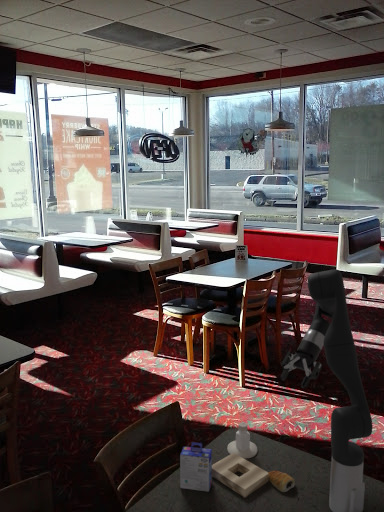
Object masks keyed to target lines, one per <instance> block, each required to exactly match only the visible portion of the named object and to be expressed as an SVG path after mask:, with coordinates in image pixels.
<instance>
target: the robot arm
mask: <svg viewBox="0 0 384 512" xmlns="http://www.w3.org/2000/svg"><path fill="white" fill-rule="evenodd" d="M307 289H308V293H309V295H310V297H311V300H313V301H314V302H316V305H315V311H314V316H313V318H312V322H311V324H310V325H309V327H308V329H307V331H306V332H305V333H304V336H303V337H302V339H301V341H300V344H299V345H298V347H297V350H296V353H295V354H293V353H291V352H290V351H288V352H287V353H286V355H284V358H283V360H282V362H281V363H280V366H281V367H282V369H283V370H282V371H281V374H280V379H281V380H282V381H286V379H287V378H288V375H289V373H290V372H291V371H292V370H295V369H298V370H302V371H304V372H305V376H304V377H303V379H302V381H301V384H300V387H301V388H302V389H305V388H307V387H308V385H309V383H310V381H311V380H314V381H315V380H317V378H318V377H319V374H320V372H321V369H322V366H323V365H322V364H321V362H320V361H316V360H317V359H318V357H319V354H320V352H321V351H322V349H323V350H324V355H325V360H326V364H327V366H328V368H329V369H330V370H331V372H332V374H334V375H335V376H336V378H337V379H338V381H340V382H341V384H342V385H343V387H344V388H345V390H346V391H347V394H348V397H349V400H350V406H349V405H347V406H340V407H335V408H334V409H332V412H331V416H330V445H331V446H330V447H331V462H330V463H331V465H330V478H329V481H330V482H329V497H328V499H329V500H328V506H329V510H330V511H331V512H363V511H364V503H365V486H366V485H365V484H366V483H365V482H364V481H363V476H364V459H365V453H364V450H363V448H362V447H361V446H360V445H359V444H357V443H355V442H352V441H350V440H355V439H365V438H369V437H371V435H372V433H373V419H372V415H371V412H370V407H369V404H368V400H367V397H366V392H365V390H364V389H365V388H364V386H363V382H362V381H363V380H362V377H361V373H360V372H361V371H360V368H359V362H358V355H357V350H356V345H355V340H354V337H353V336H354V335H353V331H352V326H351V323H350V318H349V310H348V305H347V304H348V303H347V298H346V290H345V284H344V279H343V275H342V273H341V271H340V270H339V269H336V268H335V269H329V270H323V271H318V272H314V273H311V274H309V275H308V277H307ZM323 316H324V317H327V318H330V319H331V321H330V322H329V320H327V319H325V318H324V317H323ZM312 367H313V369H312V371H311V368H312Z"/></svg>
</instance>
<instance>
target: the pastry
mask: <svg viewBox="0 0 384 512" xmlns="http://www.w3.org/2000/svg"><path fill="white" fill-rule="evenodd" d="M267 472H268V473H269V482H270V483H271V485H272V486H273V487H274V488H276V489H277V490H278V491H280V492H281V493H286V492H288V491H289V490H290V489H293V488H294V487H295V485H296V481H295V478H293V477H291V476H290V474H287V473H286V472H281V471H279V470H271V471H267Z"/></svg>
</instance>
